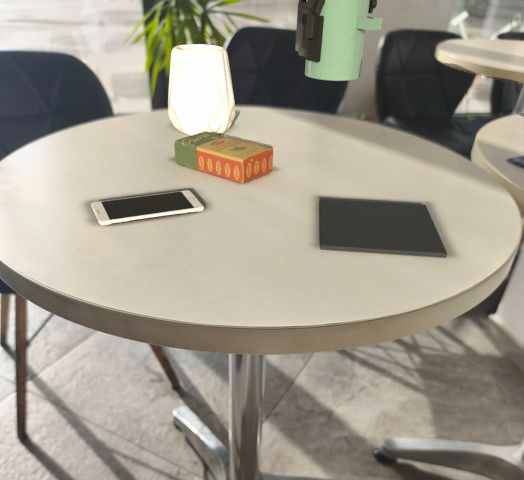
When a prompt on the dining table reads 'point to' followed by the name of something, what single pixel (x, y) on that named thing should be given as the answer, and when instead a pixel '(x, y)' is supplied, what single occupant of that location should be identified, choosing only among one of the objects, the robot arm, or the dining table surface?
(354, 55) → the kettle
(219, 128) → the vase
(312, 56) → the robot arm
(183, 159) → the carton
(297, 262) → the dining table surface
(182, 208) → the smartphone
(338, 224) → the mat
